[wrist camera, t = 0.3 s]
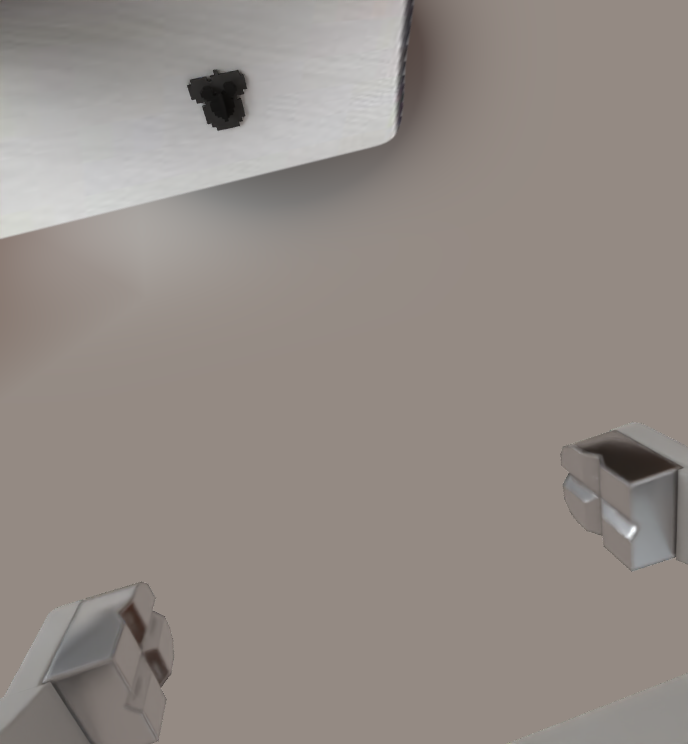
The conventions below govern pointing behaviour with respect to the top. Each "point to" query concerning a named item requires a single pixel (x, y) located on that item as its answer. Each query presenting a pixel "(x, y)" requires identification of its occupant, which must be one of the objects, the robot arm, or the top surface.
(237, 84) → the black irregular piece
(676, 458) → the robot arm
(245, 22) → the top surface
